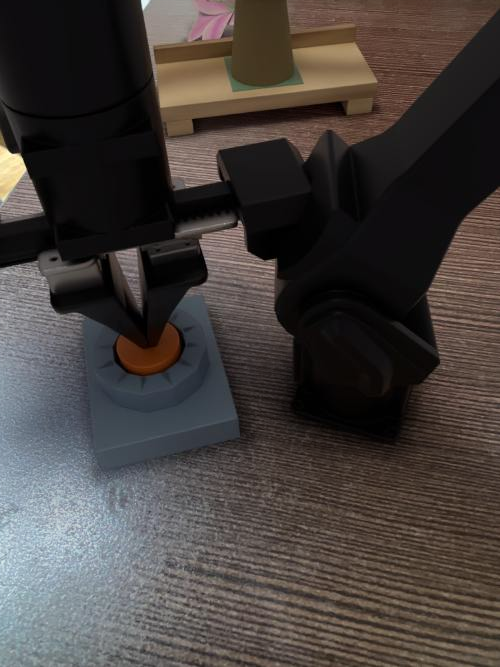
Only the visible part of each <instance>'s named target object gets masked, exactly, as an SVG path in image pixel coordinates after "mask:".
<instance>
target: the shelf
mask: <svg viewBox="0 0 500 667" xmlns="http://www.w3.org/2000/svg"><path fill="white" fill-rule="evenodd" d="M290 34H291V43H292V51H293V60H294V68H295V70H294V74H293V75H292V76H291V77H290V79H288V80H286V81H284V82H283V83H280V84H276V85H273V86H264V87H259V86H249V85H245V84H242V83H240V82H238V81H236V80H235V79H234V78H233V77H232V74H231V61H232V45H233V36H228V37H220V38H218V39H209V40H202V39H201V40H199V39H198V40H193V41H190V42H188V41H183V42H174V43H164V44H163V43H162V44H157V45H156V44H155V45H152V51H153V56H154V61H155V62H154V63H155V72H156V80H157V81H156V82H157V91H158V92H157V93H158V103H159V108H160V114H161V120H162V123H165V124H166V131H167V136H168V137H170V138H171V137H178V136H179V137H180V136H186V135H194V133H195V132H194V123H193V119H201V118H202V119H203V118H210V117H218V116H228V115H235V114H236V115H237V114H243V113H253V112H261V111H270V110H278V109H286V108H295V107H303V106H310V105H311V106H312V105H320V104H329V103H337V102H338V103H339V102H340V104H341V106H342V108H343V111H344V112H345V115H346V116H352V115H361V114H368V113H370V114H371V113H372V112H373V103H374V98H376V97H377V96H378V88H379V87H378V86H379V81H378V79H377V78H376V75H375V74H374V73H373V71H372V69H371V67H370V66H369V64H368V62H367V60H366V59H365V57H364V55H363V54H362V52H361V50H360V49H359V47H358V45H357V43H356V35H357V25H356V24H355V23H345V24H338V25H337V24H336V25H328V26H320V27H319V26H318V27H308V28H301V29H290Z"/></svg>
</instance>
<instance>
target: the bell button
mask: <svg viewBox="0 0 500 667" xmlns="http://www.w3.org/2000/svg"><path fill="white" fill-rule="evenodd" d="M117 353H118V356H119V359H120V362H121V365H122V368H123V370H124V371H125V372H126V373H128V374H133V375H138V376H143V377H145V376H149V375H154V374H158V373H162V372H165V371H166V370H168V369H169V368H170V367H172V366H173V365H174V364H176V363H177V362H178V361H179V360H180V358H181V356H182V348H181V344H180V339H179V335H178V332H177V330H176V329H175V328H174V327H173V326H172V325H171V324H169V323H167V324H166V327H165V329H164V331H163V333H162V336H161V338H160V340H159V342H158V345H157V346H156V347H152V348H150V347H149V348H148V349H142V348H140V347H139V346H137V345H136V344H134V343H133V342H131V341H130V340H128V339H127V338H125V337H124V336H122V335H120V337H119V339H118V342H117Z"/></svg>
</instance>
